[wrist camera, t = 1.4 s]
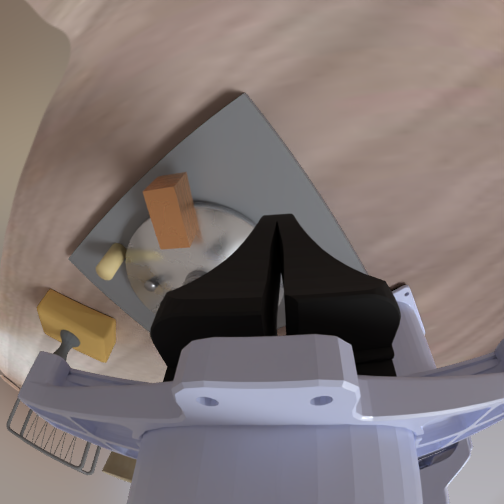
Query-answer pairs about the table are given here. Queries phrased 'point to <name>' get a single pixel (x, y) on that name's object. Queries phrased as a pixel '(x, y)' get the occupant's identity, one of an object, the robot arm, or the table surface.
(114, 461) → the plant pot
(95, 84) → the table surface
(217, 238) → the flange plate
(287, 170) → the base board
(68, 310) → the rubber stamp
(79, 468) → the newton's cradle
